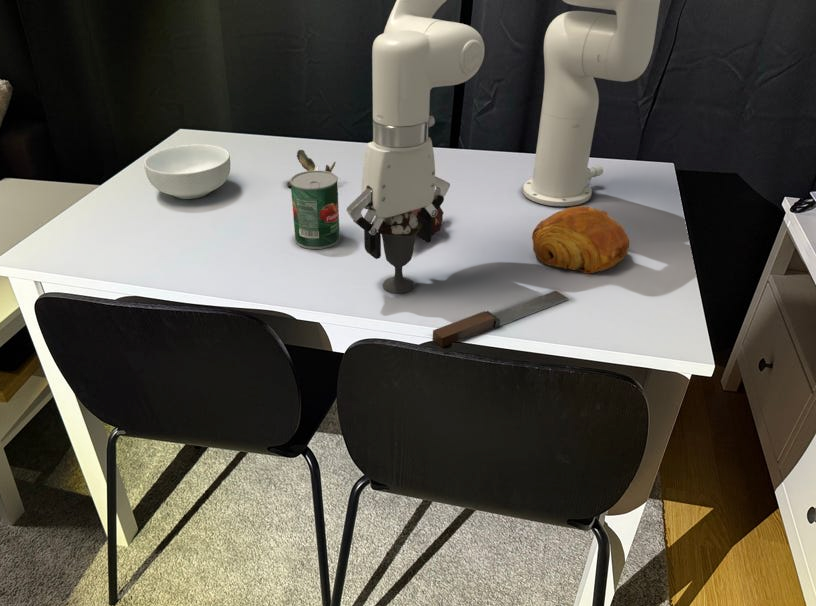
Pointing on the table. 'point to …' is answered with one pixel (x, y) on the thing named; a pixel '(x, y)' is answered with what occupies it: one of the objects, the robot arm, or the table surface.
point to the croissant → (580, 240)
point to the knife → (493, 319)
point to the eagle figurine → (309, 163)
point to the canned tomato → (315, 209)
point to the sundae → (399, 248)
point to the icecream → (434, 220)
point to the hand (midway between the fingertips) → (398, 246)
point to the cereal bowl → (188, 170)
